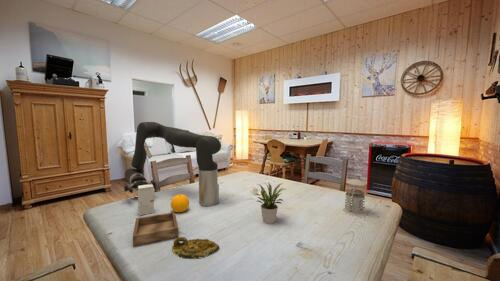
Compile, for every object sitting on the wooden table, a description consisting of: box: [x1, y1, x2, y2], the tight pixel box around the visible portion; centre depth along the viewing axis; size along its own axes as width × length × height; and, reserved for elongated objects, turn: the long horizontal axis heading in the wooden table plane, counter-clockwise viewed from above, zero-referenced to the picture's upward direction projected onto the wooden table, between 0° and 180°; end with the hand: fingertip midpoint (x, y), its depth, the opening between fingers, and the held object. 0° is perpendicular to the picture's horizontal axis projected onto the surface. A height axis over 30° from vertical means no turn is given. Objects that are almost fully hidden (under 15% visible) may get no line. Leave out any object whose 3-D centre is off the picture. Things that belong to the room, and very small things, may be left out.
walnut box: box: [132, 211, 179, 248], centre depth 77 cm, size 14×14×4 cm
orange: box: [170, 193, 190, 213], centre depth 96 cm, size 8×8×8 cm
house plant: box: [255, 181, 286, 225], centre depth 87 cm, size 14×14×16 cm
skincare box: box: [137, 184, 155, 216], centre depth 93 cm, size 6×4×12 cm
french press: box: [342, 158, 367, 218], centre depth 95 cm, size 10×12×25 cm
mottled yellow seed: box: [171, 236, 220, 259], centre depth 67 cm, size 9×5×15 cm
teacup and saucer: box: [250, 186, 261, 198], centre depth 118 cm, size 9×8×4 cm
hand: (142, 189), depth 103 cm, fingers open, 8 cm apart
